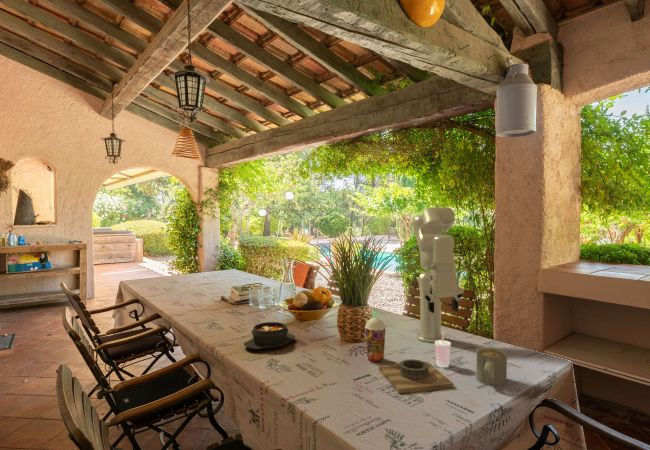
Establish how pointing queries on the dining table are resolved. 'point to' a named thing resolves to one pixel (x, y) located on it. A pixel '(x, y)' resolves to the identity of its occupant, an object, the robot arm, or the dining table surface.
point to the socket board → (416, 384)
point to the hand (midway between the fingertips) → (443, 311)
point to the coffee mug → (491, 366)
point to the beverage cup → (442, 352)
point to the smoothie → (375, 339)
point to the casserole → (269, 336)
